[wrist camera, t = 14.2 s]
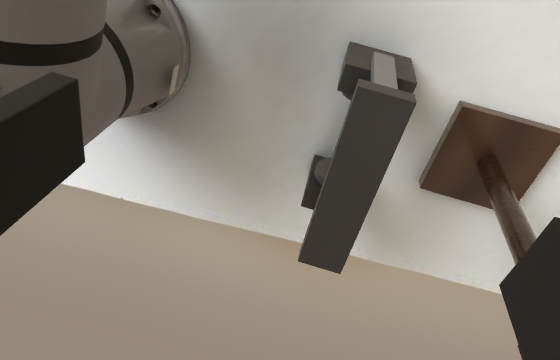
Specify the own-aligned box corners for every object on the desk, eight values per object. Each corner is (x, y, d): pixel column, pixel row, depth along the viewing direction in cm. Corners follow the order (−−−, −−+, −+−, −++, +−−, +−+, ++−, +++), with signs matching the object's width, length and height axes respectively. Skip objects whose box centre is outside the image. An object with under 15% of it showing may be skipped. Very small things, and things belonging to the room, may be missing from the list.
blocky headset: (307, 177, 48) (287, 258, 37) (352, 31, 38) (343, 82, 27) (356, 191, 48) (350, 277, 37) (415, 48, 38) (431, 106, 27)
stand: (418, 181, 45) (446, 359, 27) (459, 100, 40) (529, 258, 22) (506, 206, 45) (592, 404, 27) (561, 128, 39) (717, 313, 21)
